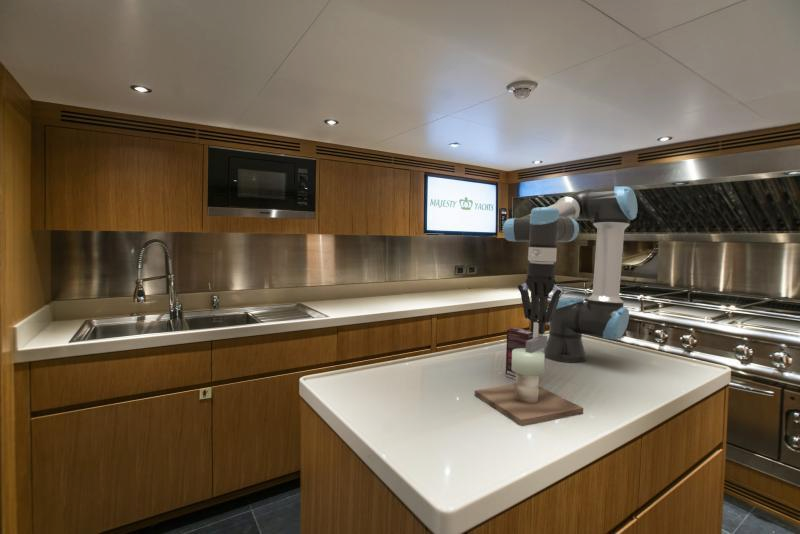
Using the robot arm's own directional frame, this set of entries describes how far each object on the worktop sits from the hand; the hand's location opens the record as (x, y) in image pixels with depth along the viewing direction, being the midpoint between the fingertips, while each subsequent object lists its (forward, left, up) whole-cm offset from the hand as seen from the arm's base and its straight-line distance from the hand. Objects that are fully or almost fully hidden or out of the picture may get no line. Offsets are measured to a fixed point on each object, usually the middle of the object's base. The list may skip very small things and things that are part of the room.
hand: (536, 344), depth 113 cm
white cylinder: (+3, -4, -6) cm, 8 cm away
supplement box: (-13, +5, -15) cm, 20 cm away
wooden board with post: (+4, -7, -15) cm, 17 cm away
